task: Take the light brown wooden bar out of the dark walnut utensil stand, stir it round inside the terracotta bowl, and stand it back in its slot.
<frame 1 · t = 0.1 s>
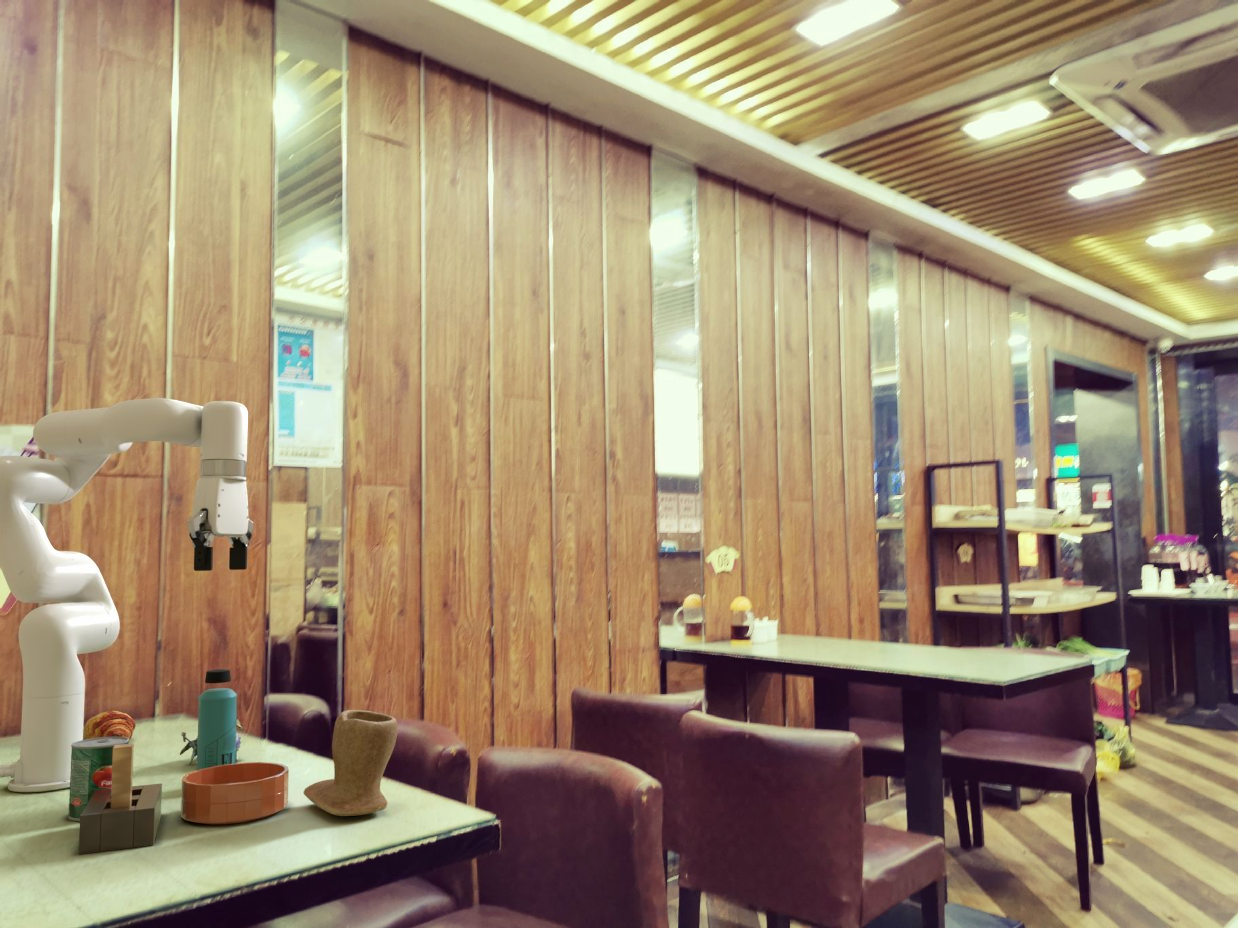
hand: (221, 570, 160), 37 cm above the table, tool pointing down, fingers open, 9 cm apart
utensil stand: (122, 834, 132), on the table
bowl: (235, 812, 143), on the table
passion flower: (211, 763, 179), on the table
croissant: (109, 742, 202), on the table
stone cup: (353, 810, 144), on the table
canned tomato: (97, 815, 143), on the table
light brown wooden bar: (119, 840, 129), resting in utensil stand
beverage bottle: (215, 788, 159), on the table
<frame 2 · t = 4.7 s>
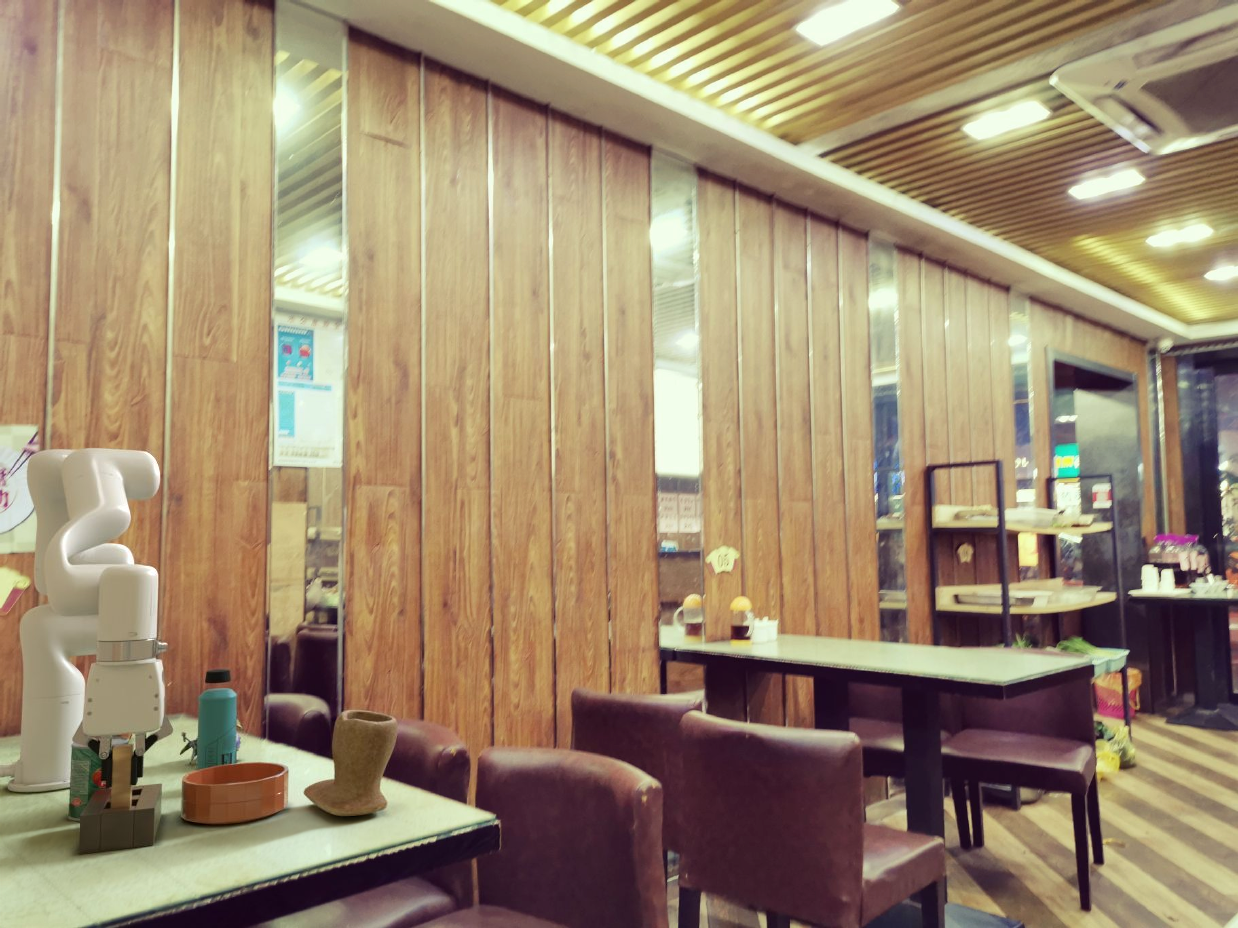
hand: (122, 783, 130), 8 cm above the table, tool pointing down, fingers closed on light brown wooden bar, 2 cm apart
light brown wooden bar: (119, 840, 129), resting in utensil stand, touching gripper
everything else where it was.
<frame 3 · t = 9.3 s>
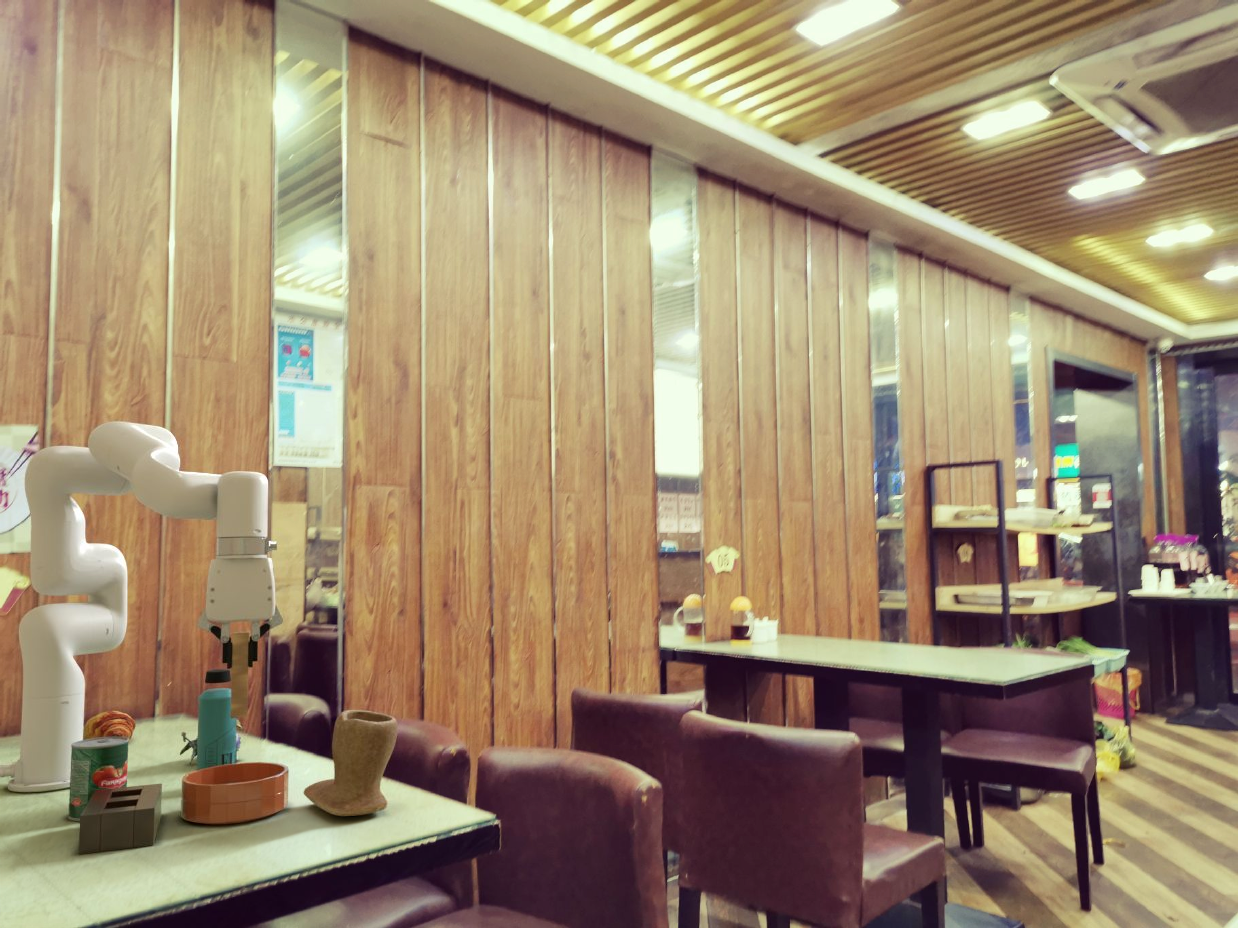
hand: (239, 666, 145), 22 cm above the table, tool pointing down, fingers closed on light brown wooden bar, 2 cm apart
light brown wooden bar: (238, 716, 144), point 15 cm above the table, touching gripper
everything else where it was.
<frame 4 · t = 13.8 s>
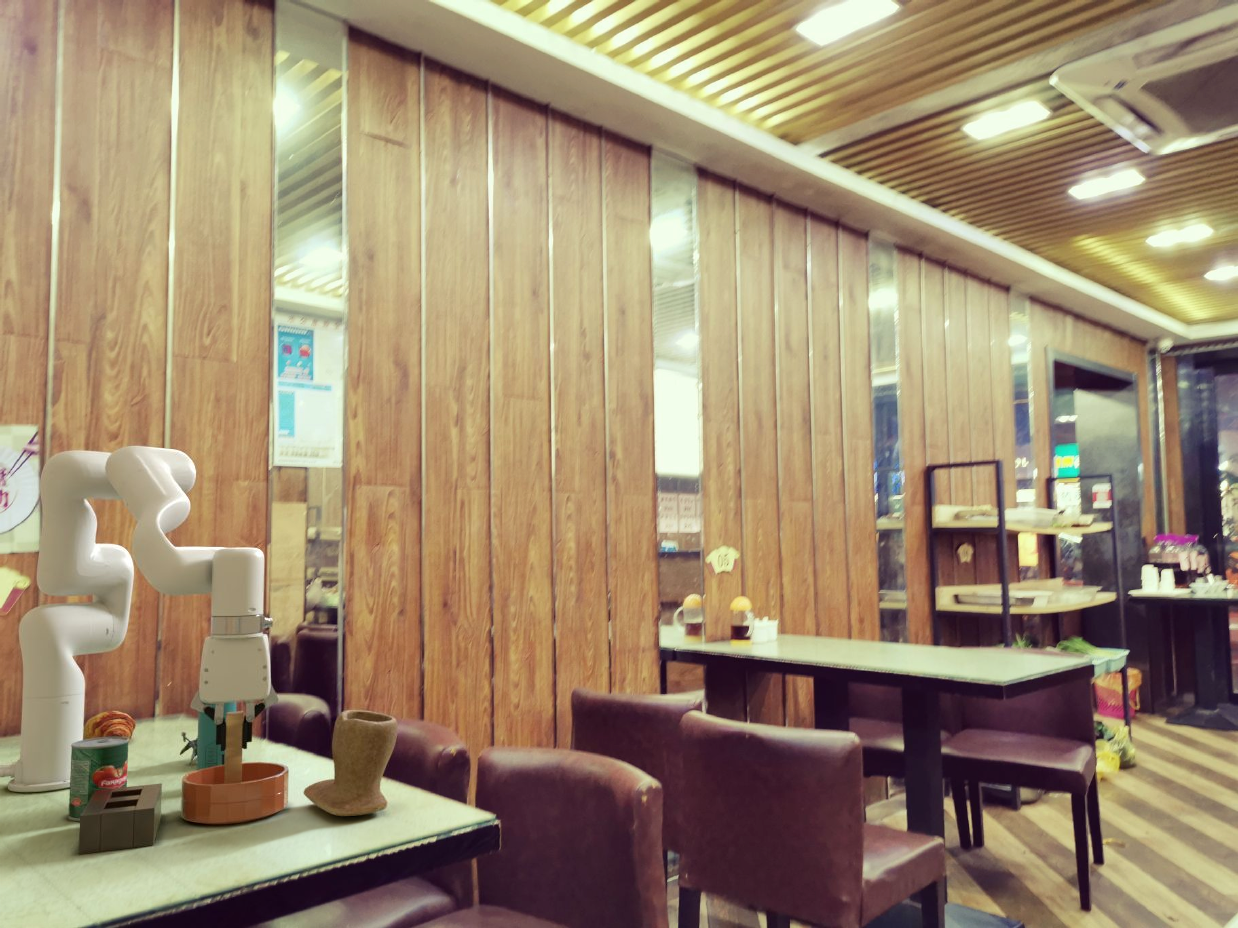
hand: (233, 747, 142), 10 cm above the table, tool pointing down, fingers closed on light brown wooden bar, 2 cm apart
light brown wooden bar: (232, 799, 141), point 3 cm above the table, touching gripper
everything else where it was.
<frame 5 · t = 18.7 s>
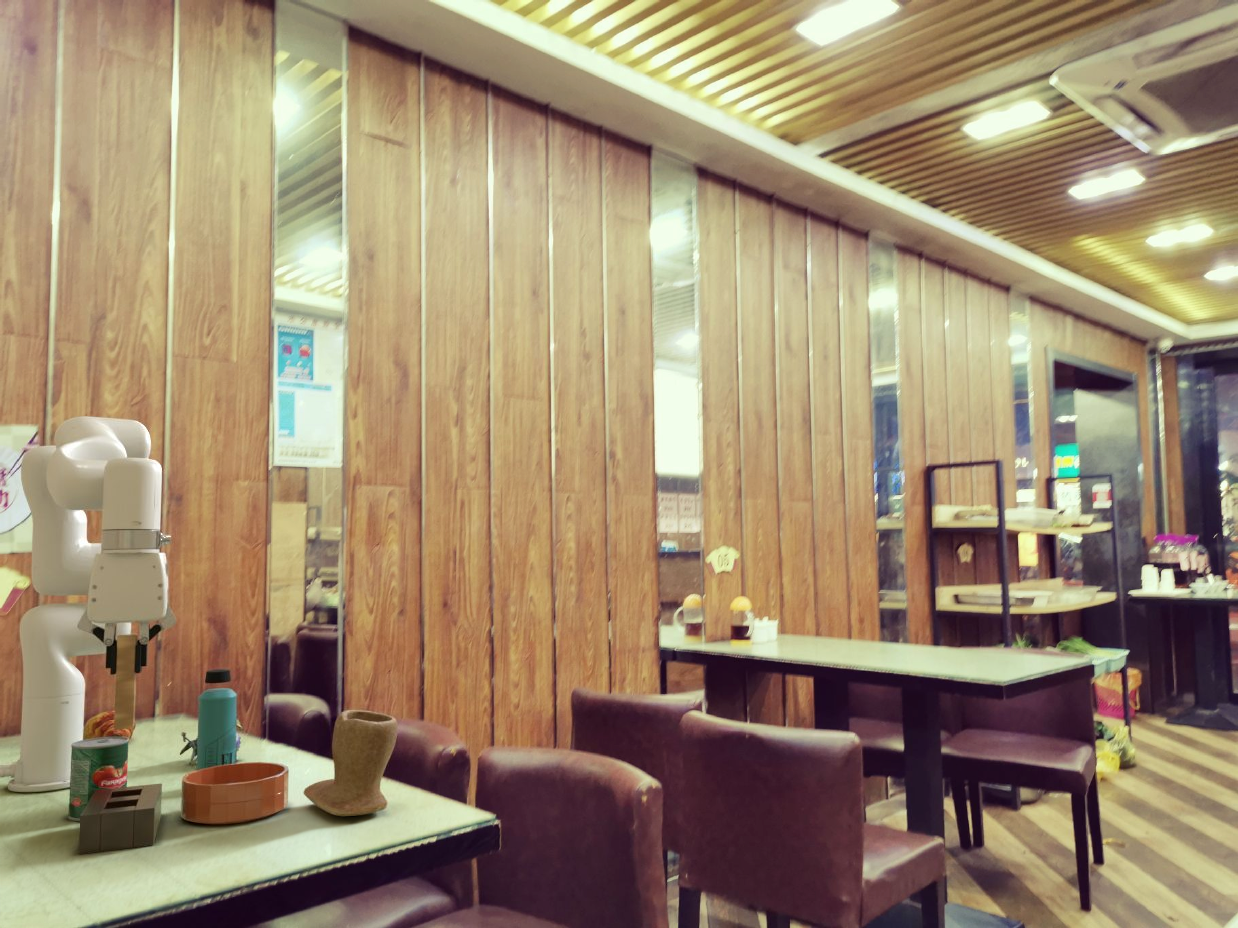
hand: (126, 671, 132), 23 cm above the table, tool pointing down, fingers closed on light brown wooden bar, 2 cm apart
light brown wooden bar: (124, 727, 131), point 16 cm above the table, touching gripper
everything else where it was.
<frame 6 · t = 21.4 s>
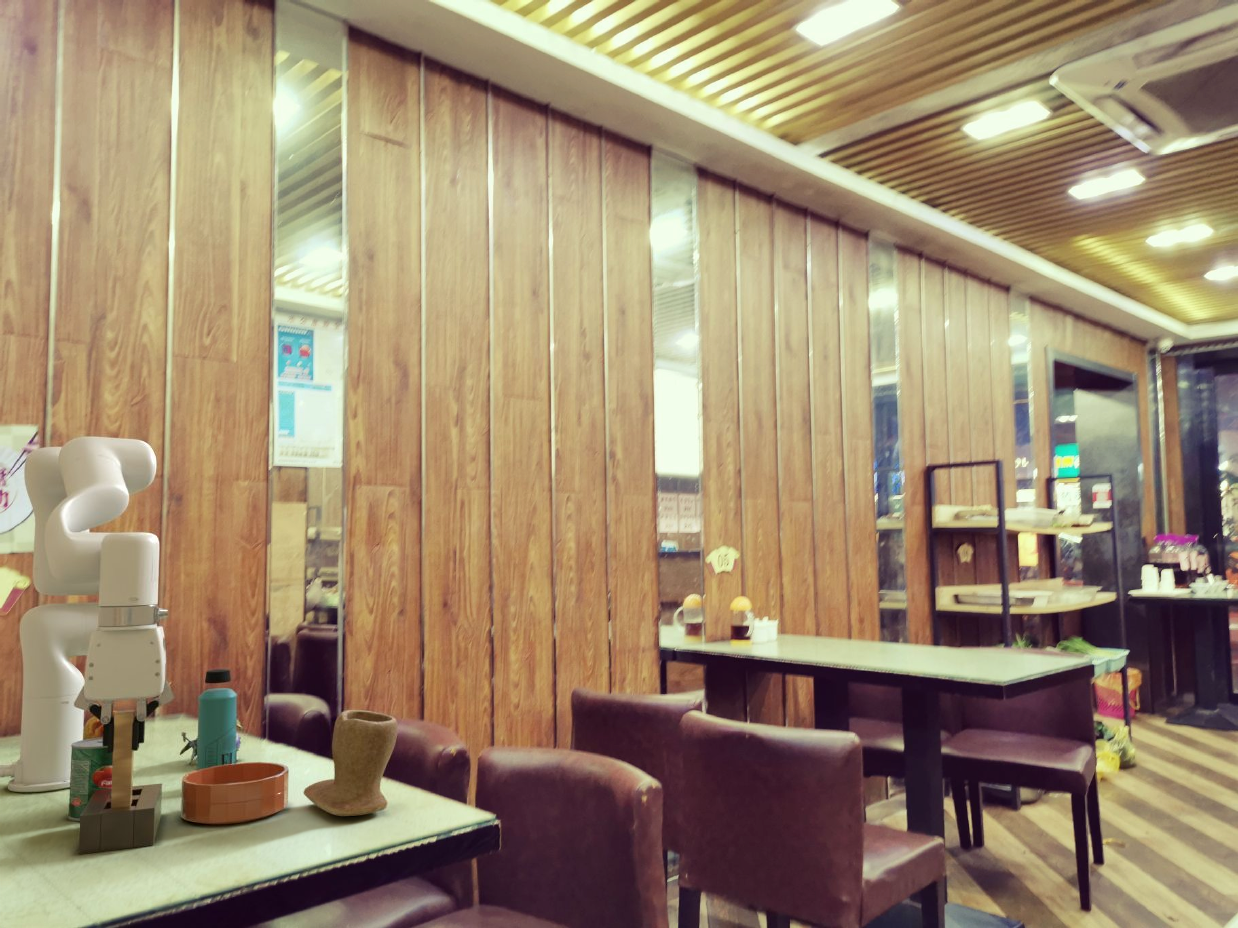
hand: (123, 748, 131), 13 cm above the table, tool pointing down, fingers closed on light brown wooden bar, 2 cm apart
light brown wooden bar: (121, 805, 130), point 5 cm above the table, touching gripper
everything else where it was.
when the fingers open (8 cm above the table, at t = 22.9 s): light brown wooden bar stays where it is, resting in utensil stand.
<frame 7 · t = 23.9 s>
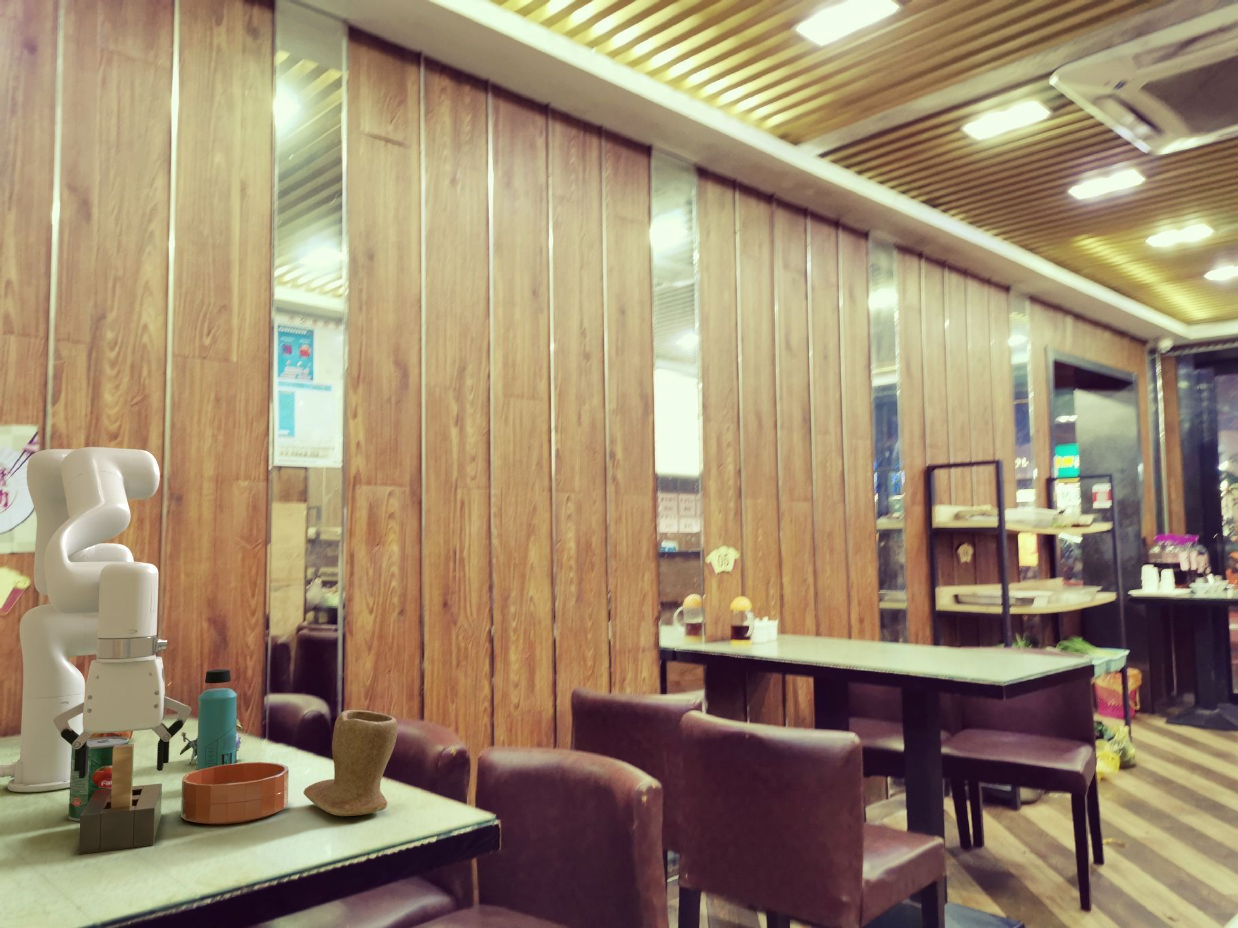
hand: (122, 772, 130), 9 cm above the table, tool pointing down, fingers open, 9 cm apart
light brown wooden bar: (120, 840, 129), resting in utensil stand
everything else where it was.
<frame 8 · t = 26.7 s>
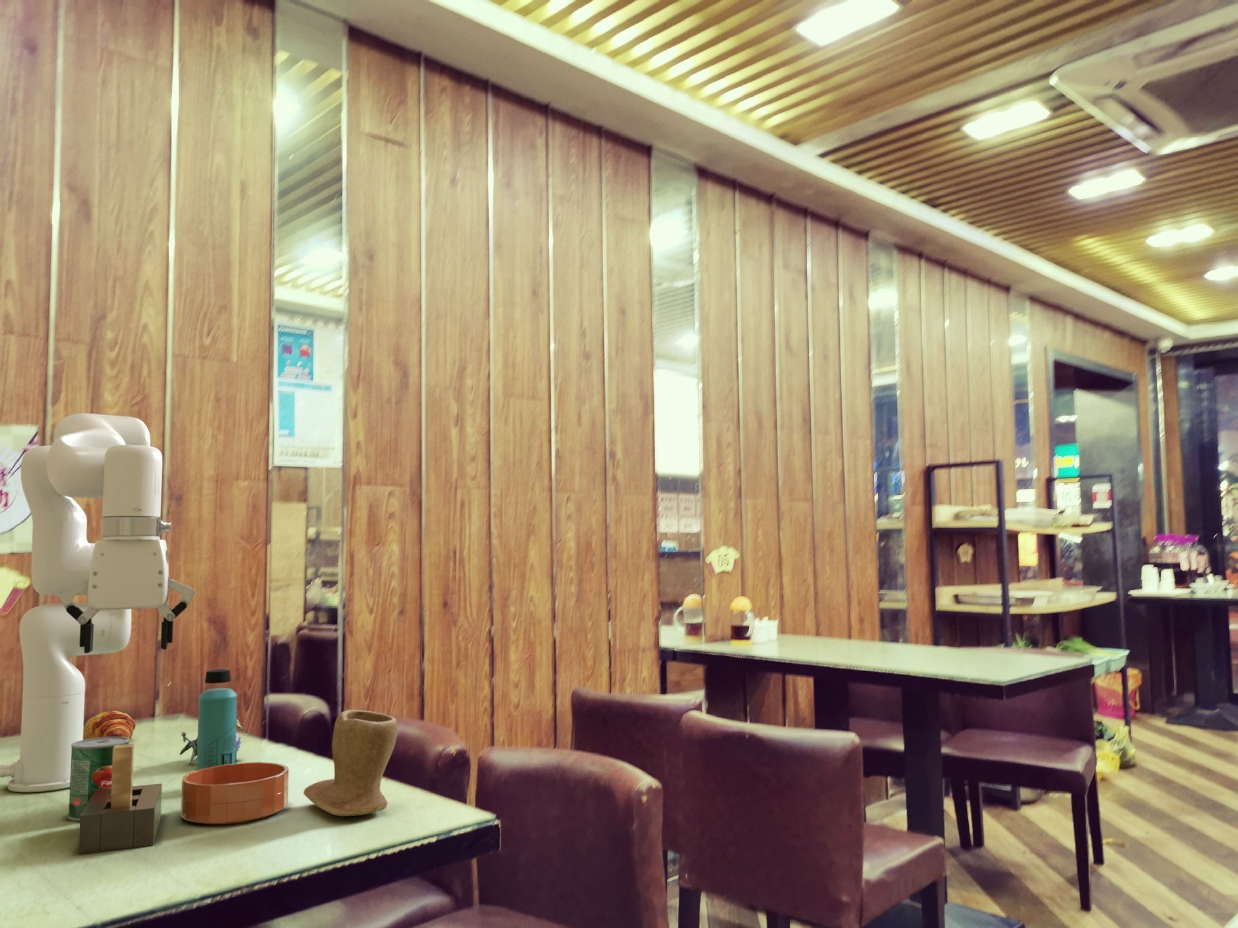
hand: (126, 650, 132), 26 cm above the table, tool pointing down, fingers open, 9 cm apart
nothing on the table moved.
at the end: light brown wooden bar 0.3 cm from the target spot in the utensil stand, point 0.0 cm above the utensil stand's base; light brown wooden bar tilted 0°; the gripper is holding nothing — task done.
